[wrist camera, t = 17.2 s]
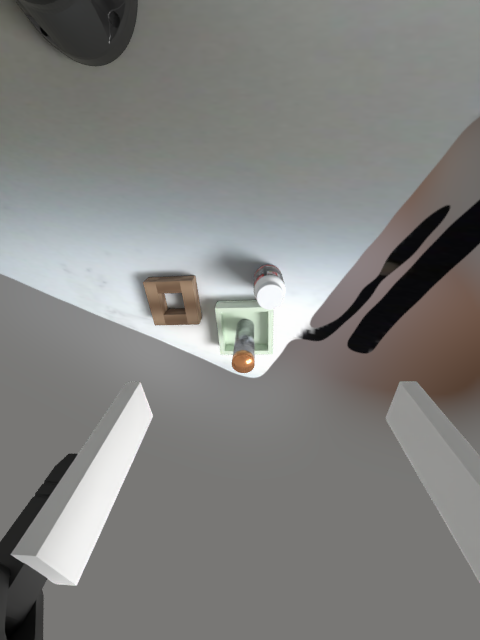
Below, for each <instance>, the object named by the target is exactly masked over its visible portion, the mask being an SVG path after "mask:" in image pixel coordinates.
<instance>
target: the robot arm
mask: <svg viewBox="0 0 480 640" xmlns="http://www.w3.org/2000/svg"><path fill="white" fill-rule="evenodd" d="M15 1H16V2H17V3H18V5H19V6H20V7H21V9H22V10H23V11H24V13H25V14H26V15H27V17H28V18H29V20H30V21H31V22H32V23H33V25H34V26H35V27H36V29H37V30H38V31H39V32H40V33H41V34H42V35H43V36H44V37H45V38H46V39H47V40H48V41H49V42H50V43H51V44H52V45H53V46H55V47H56V48H57V49H59V50H60V51H61V52H63V53H64V54H66V55H67V56H68V57H70V58H71V59H73V60H75V61H77V62H79V63H82V64H85V65H89V66H101V65H106V64H108V63H110V62H112V61H114V60H115V59H117V58H118V57H119V56H120V55H121V54H122V53H123V51H124V50H125V48H126V47H127V45H128V43H129V41H130V39H131V37H132V34H133V31H134V27H135V22H136V16H137V5H138V0H15ZM152 417H153V415H152V412H151V410H150V407H149V404H148V401H147V399H146V396H145V393H144V390H143V388H142V385H141V383H140V382H126V383H125V385H124V386H123V388H122V389H121V391H120V392H119V394H118V395H117V397H116V398H115V400H114V401H113V403H112V404H111V406H110V407H109V409H108V410H107V412H106V413H105V415H104V416H103V418H102V419H101V421H100V422H99V424H98V425H97V427H96V428H95V430H94V431H93V433H92V434H91V435H90V437H89V438H88V440H87V441H86V443H85V444H84V446H83V447H82V449H81V450H80V452H79V453H78V454H68V455H67V456H66V457H65V458H64V459H63V460H62V461H60V462H59V463H58V464H57V465H56V466H55V467H54V469H53V470H52V471H51V473H50V474H49V476H48V477H47V478H46V480H45V482H44V484H42V485H41V487H40V488H39V489H38V491H37V492H36V493H35V496H34V497H33V498H32V499H31V500H30V502H29V503H28V505H27V506H26V507H25V509H24V510H23V512H22V513H21V514H20V516H19V517H18V518H17V520H16V521H15V522H14V524H13V525H12V527H11V528H10V529H9V531H8V532H7V534H6V535H5V536H4V538H3V539H2V540H1V542H0V640H43V592H42V588H43V586H44V584H45V582H46V580H47V579H48V580H50V581H51V582H53V583H54V584H61V585H77V583H78V581H79V579H80V577H81V575H82V572H83V570H84V568H85V566H86V564H87V561H88V559H89V557H90V555H91V552H92V550H93V548H94V546H95V544H96V541H97V539H98V537H99V535H100V533H101V530H102V528H103V526H104V523H105V521H106V519H107V517H108V515H109V512H110V510H111V508H112V506H113V504H114V502H115V499H116V497H117V495H118V493H119V490H120V488H121V486H122V484H123V482H124V479H125V477H126V475H127V473H128V470H129V468H130V466H131V464H132V461H133V459H134V457H135V455H136V453H137V450H138V448H139V446H140V443H141V442H142V439H143V437H144V435H145V433H146V430H147V428H148V426H149V424H150V422H151V419H152ZM386 420H387V423H388V424H389V426H390V428H391V429H392V431H393V433H394V435H395V436H396V438H397V440H398V442H399V443H400V445H401V447H402V449H403V450H404V452H405V454H406V456H407V457H408V459H409V461H410V463H411V464H412V466H413V468H414V469H415V471H416V473H417V475H418V477H419V478H420V480H421V482H422V484H423V485H424V487H425V489H426V491H427V492H428V494H429V496H430V497H431V499H432V501H433V503H434V504H435V506H436V508H437V509H438V511H439V513H440V515H441V517H442V518H443V520H444V522H445V524H446V525H447V527H448V529H449V531H450V532H451V534H452V536H453V537H454V539H455V541H456V543H457V544H458V546H459V548H460V550H461V552H462V553H463V555H464V557H465V558H466V560H467V562H468V564H469V565H470V567H471V569H472V571H473V572H474V574H475V576H476V578H477V579H478V581H479V583H480V456H479V455H478V453H477V452H476V451H475V450H474V449H473V448H472V446H471V445H470V444H469V443H468V442H467V440H466V439H465V438H464V437H463V436H462V435H461V433H460V432H459V431H458V430H457V429H456V428H455V426H454V425H453V424H452V423H451V422H450V420H449V419H447V417H446V416H445V415H444V413H443V412H442V411H441V410H440V409H439V407H437V405H436V404H435V403H434V402H433V400H432V399H431V398H430V397H429V396H428V395H427V393H426V392H425V391H424V390H423V389H422V387H421V386H420V385H419V384H418V383H417V382H400V383H399V385H398V388H397V390H396V393H395V396H394V398H393V401H392V403H391V406H390V408H389V411H388V413H387V416H386Z"/></svg>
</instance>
